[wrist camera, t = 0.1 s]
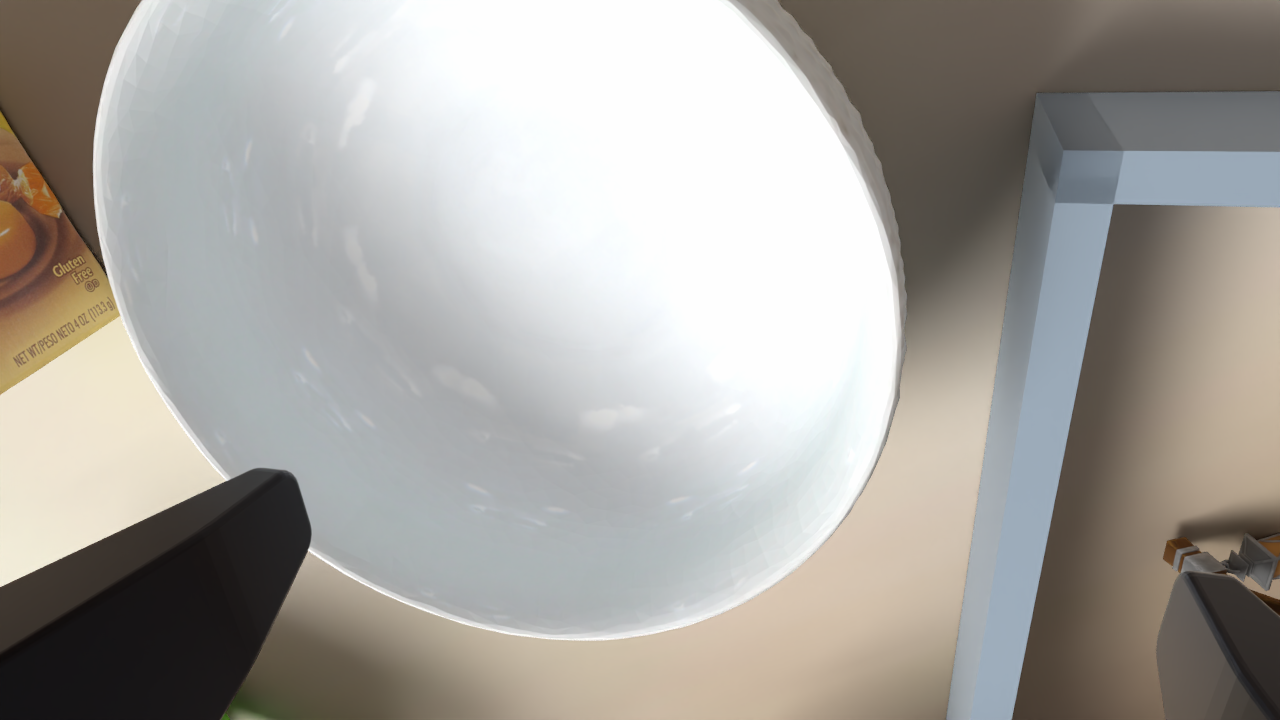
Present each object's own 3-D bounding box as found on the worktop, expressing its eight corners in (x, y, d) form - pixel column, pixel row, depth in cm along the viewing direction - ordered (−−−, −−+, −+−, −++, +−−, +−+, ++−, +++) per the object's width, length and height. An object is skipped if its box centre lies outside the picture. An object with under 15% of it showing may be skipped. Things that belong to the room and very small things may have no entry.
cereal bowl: (985, -118, 18) (1025, -82, 13) (840, 517, 27) (823, 715, 21) (223, -181, 21) (-37, -176, 15) (313, 412, 30) (169, 560, 24)
